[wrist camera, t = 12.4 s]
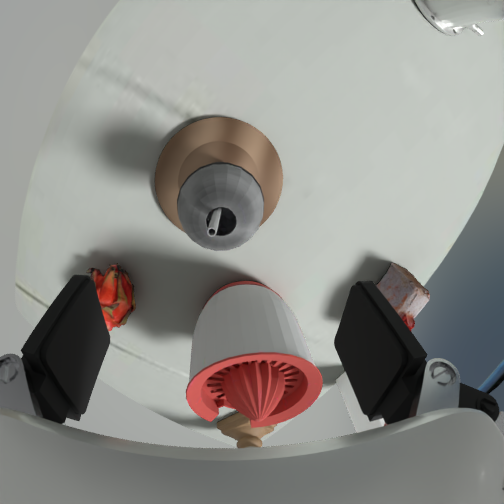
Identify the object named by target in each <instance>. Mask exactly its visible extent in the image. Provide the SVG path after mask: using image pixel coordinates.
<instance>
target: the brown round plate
mask: <svg viewBox="0 0 504 504" xmlns="http://www.w3.org/2000/svg"><path fill="white" fill-rule="evenodd" d="M215 162H228V163H231V164H234V165H238V166H241V167H242V168H244V169H245V170H247V171H248V172H249V173H251V174H252V175H253V176H254V177H255V179H256V180H257V182H258V183H259V185H260V186H261V189H262V193H263V196H264V212H263V218H262V220H261V223H260V225H259V227H260V226H261V225H262V224H263V223H264V222H265V221H266V220H267V219H268V218H269V216H270V215H271V214H272V212H273V211H274V209H275V207H276V205H277V203H278V201H279V198H280V195H281V191H282V185H283V173H282V166H281V162H280V159H279V156H278V154H277V152H276V150H275V148H274V146H273V145H272V143H271V142H270V141H269V139H268V138H267V137H266V136H265V135H264V134H263V133H262V132H260V131H259V130H258V129H256V128H255V127H253V126H251V125H250V124H248V123H245V122H243V121H240V120H237V119H232V118H225V117H213V118H207V119H203V120H200V121H196V122H194V123H192V124H190V125H188V126H186V127H185V128H183V129H181V130H180V131H179V132H178V133H177V134H175V135H174V136H173V137H172V138H171V140H170V141H169V142H168V143H167V145H166V146H165V147H164V149H163V151H162V153H161V155H160V157H159V160H158V163H157V167H156V172H155V189H156V194H157V198H158V200H159V203H160V205H161V207H162V209H163V211H164V213H165V214H166V216H167V217H168V218H169V219H170V220H171V222H172V223H173V224H174V225H176V226H177V227H178V228H179V229H181V230H182V231H184V230H183V227H182V225H181V222H180V220H179V217H178V210H177V198H178V195H179V191H180V187H181V186H182V184H183V183H184V181H185V180H186V179H187V177H188V176H189V175H190V174H191V173H193V172H194V171H195V170H197V169H198V168H199V167H202V166H205V165H208V164H211V163H215ZM184 232H185V231H184ZM185 233H186V232H185Z"/></svg>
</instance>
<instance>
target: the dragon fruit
mask: <svg viewBox="0 0 504 504" xmlns="http://www.w3.org/2000/svg"><path fill="white" fill-rule="evenodd" d="M86 273H91V280H93V281H94V283H95V286H96V290H97V294H98V298H99V302H100V305H101V309H102V312H103V316H104V319H105V322H106V325H107V329H108V331H111V330H112V328H113V327H116V326H117V327H120V326H121V325H125V324H126V322H127V318H128V316H129V315H130V314H131V312H133V311H134V310H135V308H136V304H135V299H134V286H133V284H131V281H130V280H129V277H128V273H127V272H126V270H125V271H123V270H122V269H121V266H120V265H118V263H117V264H116V265H110V267H109V268H108V269H107V271H106V273H105V275H104V276H103V275H102V274H101V272H100V270H99V269H98V270H97V269H96V268H90V269H88V270H87V272H86Z"/></svg>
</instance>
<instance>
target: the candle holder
mask: <svg viewBox="0 0 504 504" xmlns="http://www.w3.org/2000/svg"><path fill="white" fill-rule="evenodd" d="M275 426H277V424H274V425H270V426H265V427H256V428H251V424H250V419H249V418H247V417H246V416H244V415H243V414H241V413H240V412H237V413H235V414H233V415H231V416H229V417H227V418H225V419H223V420H221V421H219V422H217V429H219V430H221V432H222V433H223V434H224V435H226V436H229V437H232V438H234V439H235V440H237V441H238V442H237V447H238V448H257V447H261V446H262V441H261V440H260V438H262V437H263V436H264V435H266V434H268V433H270V432H272V431H273V430H274V427H275Z"/></svg>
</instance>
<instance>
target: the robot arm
mask: <svg viewBox="0 0 504 504" xmlns="http://www.w3.org/2000/svg"><path fill="white" fill-rule="evenodd" d="M415 2H416V4H417V6H418V8H419V9H420V11H421V12H422V14H423V15H424V16H425V17H426V18H427V20H428V21H429V22H430V23H431V24H432V25H433V26H435V27H436V28H437V29H438V30H440V31H441V32H443V33H445V34H447V35H450V36H456V35H459V34H461V33H462V32H463V29H464V28H466V27H467V28H468V29H472V31H474V32H475V33H476V34H477V35H479V36H482V35H483V30H482V29H481V28H480V27H479V26H477V25H476V23H483V22H490V21H499V20H504V0H415ZM109 344H110V335H109V332H108V329H107V325H106V322H105V319H104V316H103V312H102V309H101V305H100V302H99V298H98V294H97V290H96V286H95V283H94V281H93V280H91V279H90V277H89V276H87V275H74V276H73V277H72V278H71V279H70V280H69V282H68V283H67V284H66V286H65V287H64V288H63V289H62V291H61V292H60V293H59V295H58V296H57V297H56V299H55V300H54V301H53V303H52V304H51V306H50V307H49V308H48V310H47V311H46V313H45V314H44V316H43V317H42V318H41V320H40V321H39V323H38V324H37V326H36V327H35V329H34V330H33V332H32V333H31V335H30V336H29V338H28V340H27V341H26V343H25V344H24V346H23V348H22V349H21V351H22V353H23V357H22V358H20V357H19V356H18V355H15V354H6V355H3V356H1V357H0V504H504V412H503V411H501V412H500V413H499V407H498V404H497V402H496V400H495V399H494V398H493V397H492V396H490V395H489V394H487V393H484V392H482V391H479V390H477V389H474V388H472V387H469V386H467V385H465V384H462V383H460V376H459V373H458V370H457V369H456V368H455V366H454V365H453V364H451V363H450V362H449V361H447V360H445V359H441V358H434V359H432V360H430V361H429V362H428V363H427V362H426V361H425V358H426V357H427V353H426V352H425V351H424V349H423V348H422V346H421V345H420V343H419V342H418V341H417V339H416V338H415V336H414V335H413V334H412V332H411V331H410V329H409V328H408V327H407V325H406V324H405V323H404V321H403V320H402V319H401V317H400V316H399V315H398V313H397V312H396V311H395V309H394V308H393V307H392V305H391V304H390V303H389V302H388V300H387V299H386V298H385V296H384V295H383V294H382V293H381V291H380V290H379V289H378V288H377V286H376V285H375V284H374V283H373V282H372V281H359V282H357V283H356V284H355V285H354V286H352V288H351V290H350V294H349V297H348V300H347V303H346V307H345V310H344V313H343V316H342V319H341V322H340V325H339V328H338V331H337V334H336V336H335V340H334V345H335V348H336V351H337V353H338V355H339V358H340V360H341V362H342V365H343V367H344V369H345V372H346V374H347V376H348V379H349V381H350V384H351V386H352V388H353V391H354V393H355V396H356V398H357V400H358V403H359V405H360V408H361V410H362V412H363V414H364V415H367V417H368V419H369V421H370V422H371V421H375V420H378V419H382V418H383V419H384V421H385V424H384V426H382V427H378V428H374V429H370V430H366V431H362V432H358V433H354V434H350V435H345V436H341V437H336V438H331V439H325V440H319V441H313V442H307V443H299V444H291V445H282V446H271V447H257V448H235V449H234V448H229V449H228V448H226V449H225V448H222V449H221V448H191V447H177V446H166V445H157V444H149V443H142V442H136V441H129V440H124V439H119V438H113V437H109V436H104V435H100V434H96V433H91V432H88V431H84V430H80V429H76V428H72V427H69V426H66V424H65V420H66V417H67V418H70V419H73V420H77V421H79V420H80V417H81V414H84V413H85V412H86V409H87V406H88V403H89V400H90V396H91V393H92V390H93V388H94V385H95V382H96V379H97V376H98V373H99V371H100V368H101V365H102V362H103V360H104V357H105V355H106V352H107V349H108V347H109Z"/></svg>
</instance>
